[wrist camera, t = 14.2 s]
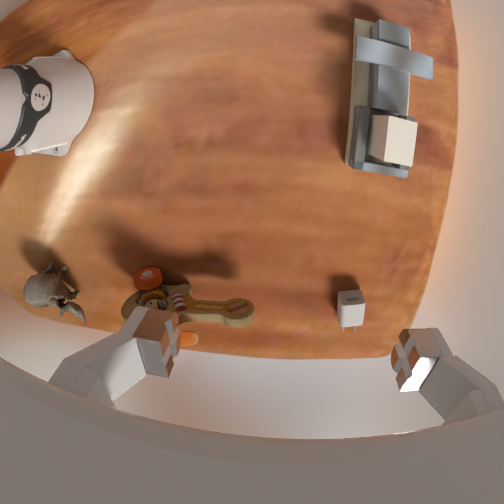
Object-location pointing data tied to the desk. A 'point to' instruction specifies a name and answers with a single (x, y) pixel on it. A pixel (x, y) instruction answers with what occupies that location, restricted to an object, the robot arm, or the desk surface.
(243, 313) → the toy helicopter
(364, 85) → the jig
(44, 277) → the rhinoceros figurine
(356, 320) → the usb wall charger
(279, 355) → the desk surface
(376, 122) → the cream upright slab block
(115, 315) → the desk surface
